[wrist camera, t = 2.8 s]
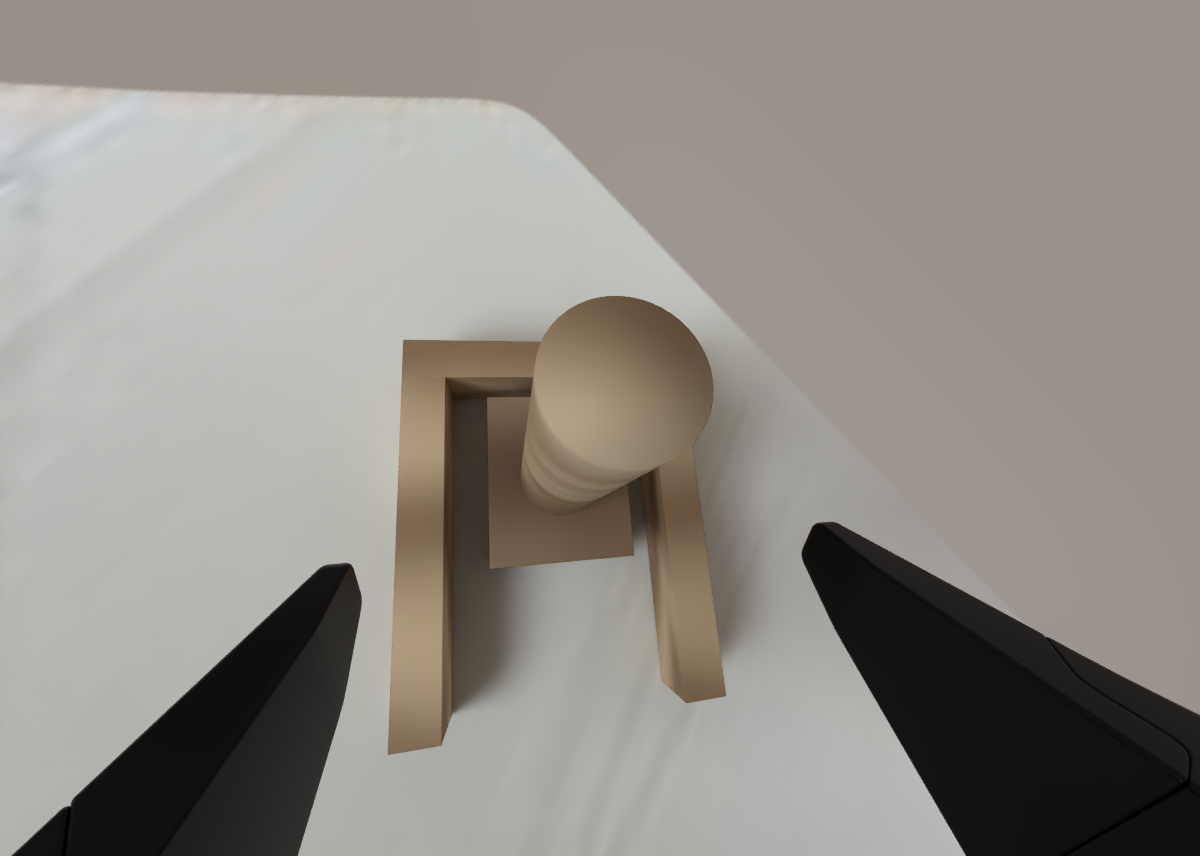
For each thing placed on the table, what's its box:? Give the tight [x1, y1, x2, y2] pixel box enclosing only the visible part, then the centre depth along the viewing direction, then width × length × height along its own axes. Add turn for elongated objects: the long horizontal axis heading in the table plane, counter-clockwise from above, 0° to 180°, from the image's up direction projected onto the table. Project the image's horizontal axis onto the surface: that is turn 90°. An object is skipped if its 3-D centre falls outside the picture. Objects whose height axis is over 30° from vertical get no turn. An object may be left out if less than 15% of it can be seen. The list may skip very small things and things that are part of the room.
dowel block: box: [487, 296, 713, 569], centre depth 12 cm, size 6×5×12 cm
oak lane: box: [388, 340, 726, 755], centre depth 17 cm, size 14×11×2 cm
